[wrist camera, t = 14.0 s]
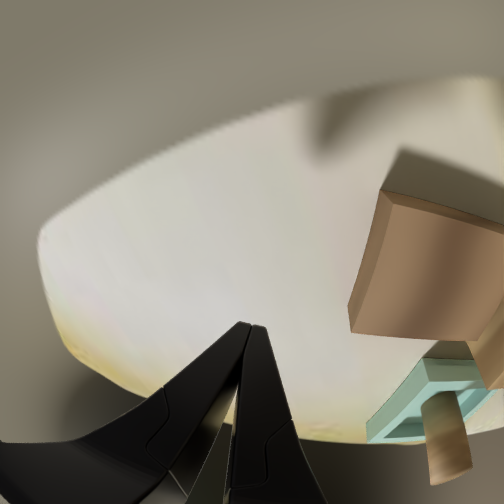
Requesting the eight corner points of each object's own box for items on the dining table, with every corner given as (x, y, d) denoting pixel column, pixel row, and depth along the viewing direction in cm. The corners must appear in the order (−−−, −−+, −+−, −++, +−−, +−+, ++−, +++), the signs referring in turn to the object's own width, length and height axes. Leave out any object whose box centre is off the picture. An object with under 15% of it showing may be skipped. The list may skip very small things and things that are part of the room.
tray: (500, 359, 13) (508, 377, 11) (442, 420, 17) (446, 437, 15) (422, 357, 14) (428, 381, 12) (366, 423, 18) (366, 443, 16)
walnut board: (502, 223, 9) (526, 242, 7) (462, 314, 12) (477, 341, 10) (377, 187, 10) (393, 203, 8) (346, 300, 13) (350, 332, 11)
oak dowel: (462, 389, 14) (481, 463, 8) (441, 411, 15) (452, 480, 9) (435, 390, 14) (450, 472, 8) (413, 412, 16) (421, 487, 10)
